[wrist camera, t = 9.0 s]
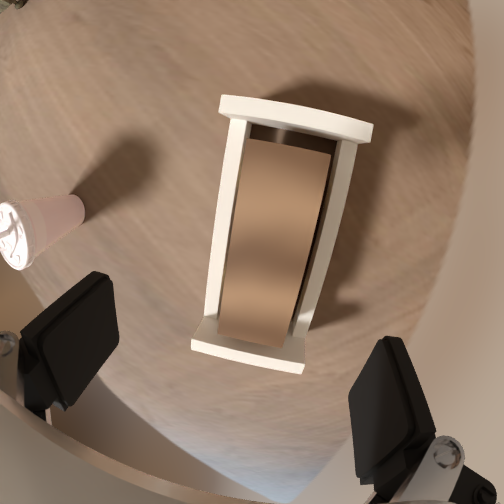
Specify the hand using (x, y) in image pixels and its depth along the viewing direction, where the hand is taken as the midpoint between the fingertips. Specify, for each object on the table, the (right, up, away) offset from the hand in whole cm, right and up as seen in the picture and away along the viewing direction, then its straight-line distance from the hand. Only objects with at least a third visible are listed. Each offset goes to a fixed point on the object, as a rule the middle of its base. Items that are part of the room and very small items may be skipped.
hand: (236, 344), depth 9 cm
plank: (+2, +4, +13) cm, 14 cm away
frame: (+2, +5, +15) cm, 16 cm away
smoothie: (-19, +8, +18) cm, 27 cm away
